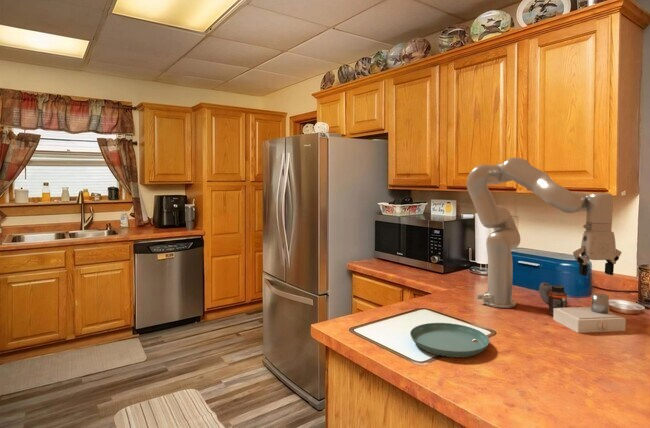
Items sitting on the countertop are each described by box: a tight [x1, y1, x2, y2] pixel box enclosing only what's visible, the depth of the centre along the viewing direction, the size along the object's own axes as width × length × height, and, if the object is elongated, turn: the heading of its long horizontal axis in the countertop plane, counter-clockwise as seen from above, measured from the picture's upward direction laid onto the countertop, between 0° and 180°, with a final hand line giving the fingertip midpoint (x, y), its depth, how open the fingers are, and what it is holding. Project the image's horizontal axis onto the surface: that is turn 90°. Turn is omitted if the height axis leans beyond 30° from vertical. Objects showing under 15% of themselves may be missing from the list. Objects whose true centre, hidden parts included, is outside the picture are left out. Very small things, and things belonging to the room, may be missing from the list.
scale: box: [552, 306, 627, 334], centre depth 139 cm, size 17×13×5 cm
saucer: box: [410, 322, 490, 358], centre depth 124 cm, size 24×24×3 cm
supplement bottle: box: [548, 284, 568, 316], centre depth 150 cm, size 6×6×11 cm
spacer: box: [590, 292, 610, 314], centre depth 139 cm, size 5×5×6 cm
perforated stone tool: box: [538, 281, 553, 305], centre depth 167 cm, size 15×5×7 cm, turn 159°
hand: (596, 274), depth 139 cm, fingers open, 9 cm apart
